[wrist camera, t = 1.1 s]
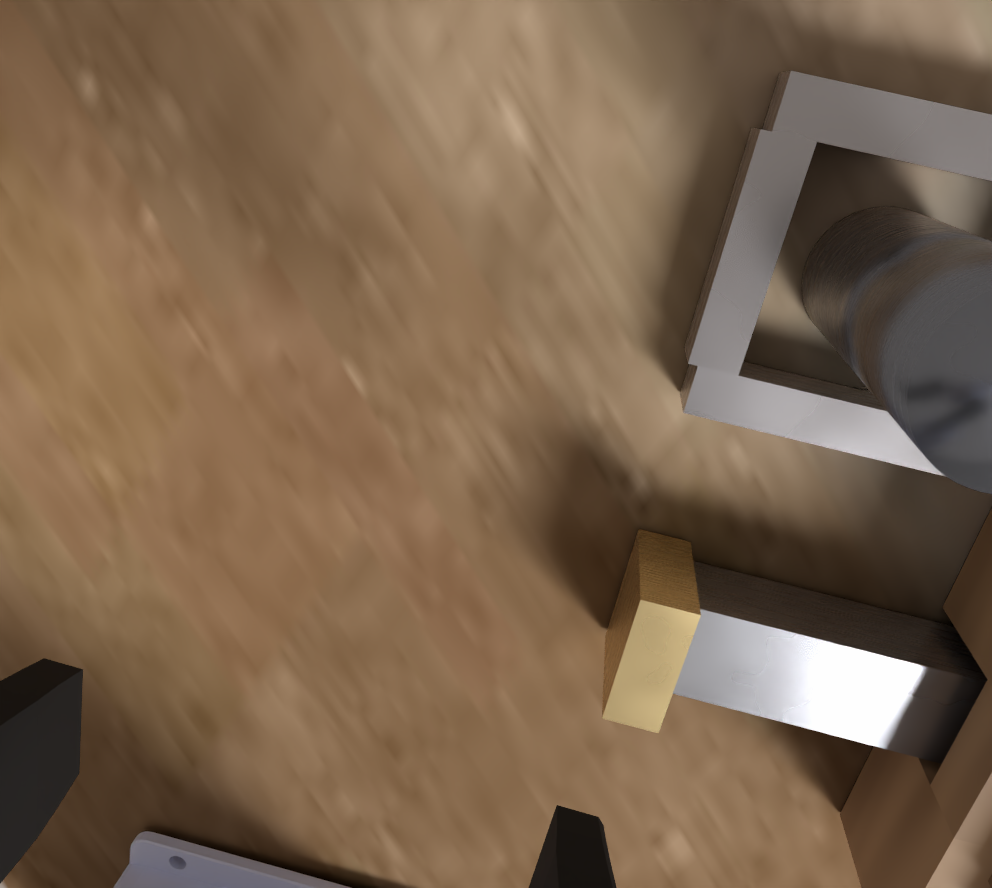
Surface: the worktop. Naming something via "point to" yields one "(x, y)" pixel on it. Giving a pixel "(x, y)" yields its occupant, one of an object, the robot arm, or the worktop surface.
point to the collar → (758, 241)
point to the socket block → (935, 775)
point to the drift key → (781, 655)
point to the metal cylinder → (913, 328)
